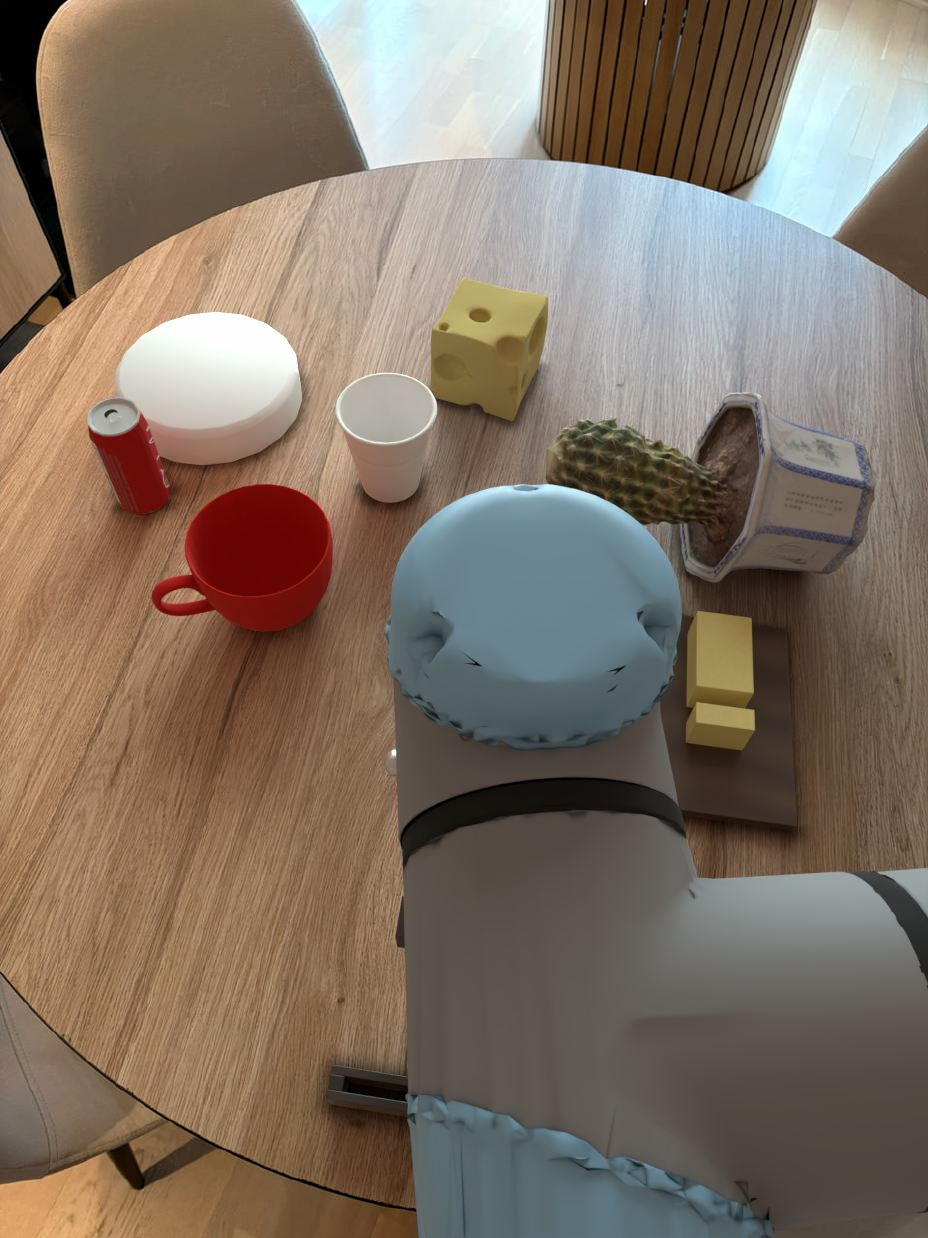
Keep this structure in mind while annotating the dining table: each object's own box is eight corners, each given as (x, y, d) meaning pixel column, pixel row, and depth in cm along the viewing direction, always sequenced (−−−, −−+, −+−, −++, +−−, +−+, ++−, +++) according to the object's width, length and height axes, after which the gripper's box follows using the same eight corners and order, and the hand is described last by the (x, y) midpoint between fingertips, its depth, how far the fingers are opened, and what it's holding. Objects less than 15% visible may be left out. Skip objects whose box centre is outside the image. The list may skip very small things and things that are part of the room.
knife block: (484, 1095, 70) (486, 1089, 67) (480, 1129, 68) (482, 1124, 65) (337, 1071, 70) (332, 1064, 67) (330, 1104, 69) (325, 1098, 66)
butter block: (741, 714, 86) (754, 693, 83) (686, 707, 86) (696, 685, 83) (740, 640, 90) (751, 617, 87) (687, 633, 91) (697, 610, 87)
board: (793, 831, 81) (797, 826, 80) (629, 808, 82) (631, 803, 81) (783, 635, 92) (787, 629, 91) (638, 616, 93) (640, 610, 92)
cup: (363, 530, 98) (356, 457, 89) (331, 464, 103) (320, 388, 94) (452, 501, 100) (453, 427, 91) (415, 438, 105) (413, 361, 96)
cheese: (514, 424, 107) (521, 354, 98) (425, 398, 109) (424, 328, 100) (543, 365, 112) (552, 294, 104) (458, 341, 114) (460, 270, 106)
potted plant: (870, 378, 91) (576, 315, 84) (916, 531, 82) (591, 474, 75) (772, 488, 106) (515, 442, 99) (802, 629, 97) (521, 589, 90)
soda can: (181, 500, 99) (153, 417, 89) (134, 525, 98) (99, 443, 87) (155, 468, 102) (124, 384, 92) (108, 492, 100) (72, 409, 90)
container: (90, 441, 104) (76, 409, 100) (172, 324, 114) (163, 292, 110) (260, 483, 101) (253, 453, 97) (328, 360, 112) (324, 328, 108)
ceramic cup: (148, 595, 93) (120, 531, 84) (307, 530, 98) (295, 464, 89) (196, 698, 87) (170, 640, 78) (363, 623, 92) (356, 562, 83)
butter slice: (742, 750, 84) (755, 730, 81) (685, 743, 84) (695, 722, 81) (741, 730, 85) (754, 709, 82) (685, 722, 85) (696, 701, 82)
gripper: (433, 626, 40) (434, 825, 60) (368, 1004, 32) (393, 1091, 52) (609, 648, 40) (552, 841, 60) (589, 1036, 32) (530, 1111, 52)
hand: (478, 957), depth 56 cm, fingers closed on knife, 2 cm apart
